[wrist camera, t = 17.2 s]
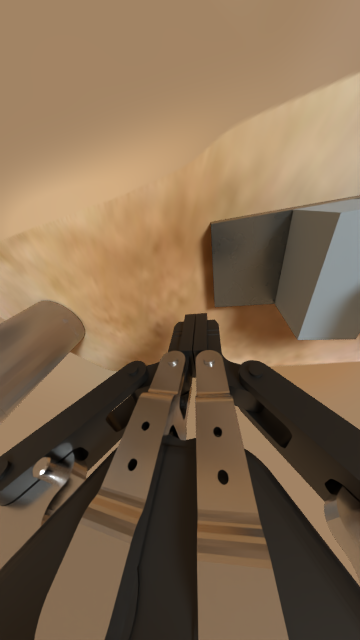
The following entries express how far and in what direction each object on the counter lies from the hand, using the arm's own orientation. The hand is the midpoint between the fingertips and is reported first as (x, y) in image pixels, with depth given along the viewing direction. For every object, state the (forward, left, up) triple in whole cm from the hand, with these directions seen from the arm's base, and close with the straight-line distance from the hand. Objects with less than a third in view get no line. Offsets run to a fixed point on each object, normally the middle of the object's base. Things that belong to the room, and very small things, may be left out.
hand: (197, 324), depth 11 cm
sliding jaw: (+10, +1, -8) cm, 13 cm away
